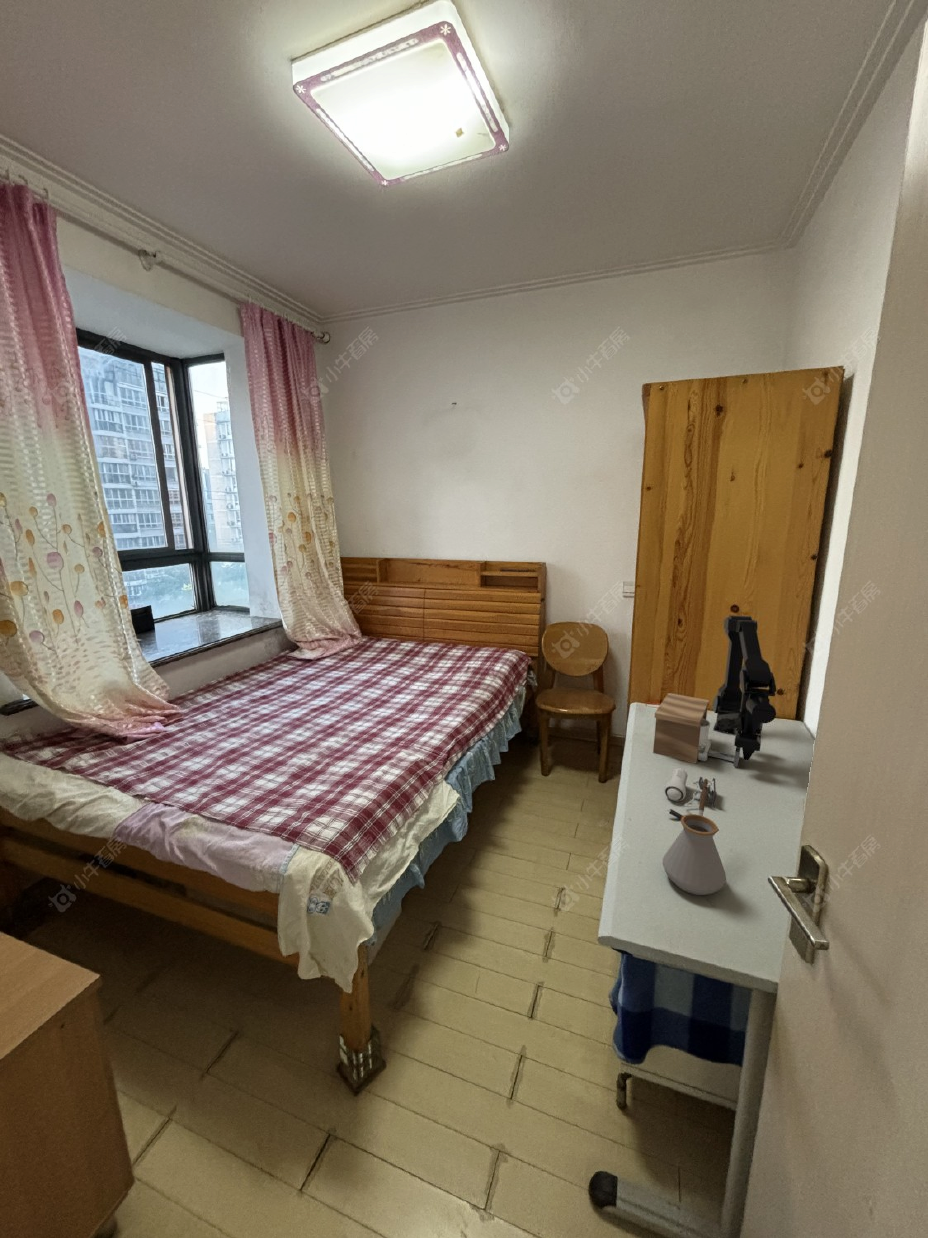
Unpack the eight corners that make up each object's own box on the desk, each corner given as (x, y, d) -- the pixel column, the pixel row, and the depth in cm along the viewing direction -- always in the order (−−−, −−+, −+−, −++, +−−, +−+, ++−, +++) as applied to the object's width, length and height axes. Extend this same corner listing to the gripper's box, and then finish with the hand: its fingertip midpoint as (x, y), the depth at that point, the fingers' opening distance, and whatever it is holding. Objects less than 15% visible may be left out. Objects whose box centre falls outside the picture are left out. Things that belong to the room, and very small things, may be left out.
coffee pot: (722, 912, 92) (732, 839, 89) (656, 888, 97) (663, 820, 94) (728, 846, 110) (736, 784, 107) (672, 830, 115) (678, 770, 112)
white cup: (702, 747, 157) (705, 717, 155) (710, 758, 149) (713, 727, 147) (675, 745, 158) (678, 715, 156) (682, 756, 150) (685, 725, 148)
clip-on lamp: (707, 840, 117) (717, 790, 131) (712, 820, 114) (721, 771, 128) (654, 820, 122) (669, 774, 136) (658, 801, 120) (673, 756, 133)
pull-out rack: (680, 740, 160) (681, 727, 159) (740, 753, 151) (741, 740, 150) (673, 753, 151) (674, 739, 150) (736, 768, 142) (738, 754, 141)
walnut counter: (664, 732, 167) (668, 692, 164) (704, 741, 161) (709, 700, 158) (650, 756, 151) (654, 712, 148) (694, 767, 144) (699, 722, 141)
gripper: (723, 694, 154) (718, 741, 158) (717, 714, 139) (711, 766, 142) (765, 701, 149) (759, 749, 152) (763, 723, 133) (756, 776, 136)
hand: (745, 759), depth 146 cm, fingers closed, pressing on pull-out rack
